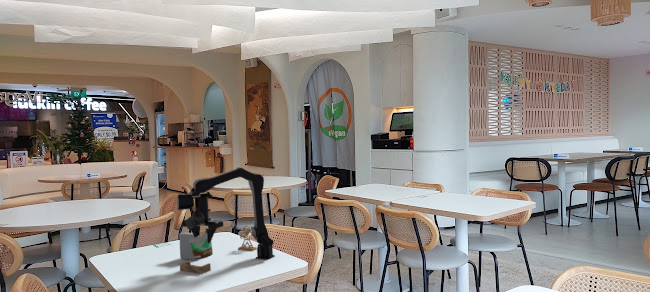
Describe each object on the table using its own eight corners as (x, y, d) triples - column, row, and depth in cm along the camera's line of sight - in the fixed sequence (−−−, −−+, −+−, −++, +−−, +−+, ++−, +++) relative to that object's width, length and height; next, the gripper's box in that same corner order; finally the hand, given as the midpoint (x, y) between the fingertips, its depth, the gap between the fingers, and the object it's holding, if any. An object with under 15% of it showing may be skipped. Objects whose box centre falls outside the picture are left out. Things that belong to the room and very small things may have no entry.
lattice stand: (238, 249, 232) (237, 226, 232) (242, 247, 236) (241, 224, 236) (252, 251, 229) (251, 227, 228) (257, 249, 232) (256, 225, 232)
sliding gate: (200, 259, 216) (199, 233, 216) (196, 260, 214) (195, 234, 214) (183, 257, 220) (182, 232, 220) (180, 258, 218) (179, 233, 218)
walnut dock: (210, 270, 198) (210, 263, 198) (202, 274, 193) (201, 267, 193) (188, 267, 203) (188, 261, 203) (180, 271, 198) (179, 264, 198)
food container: (203, 260, 197) (199, 237, 197) (192, 261, 200) (188, 238, 199) (221, 251, 208) (216, 229, 208) (210, 251, 211) (206, 230, 210)
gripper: (172, 210, 199) (174, 245, 200) (206, 211, 192) (208, 248, 192) (189, 205, 209) (191, 239, 210) (223, 207, 202) (224, 242, 202)
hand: (203, 242), depth 203 cm, fingers closed on food container, 6 cm apart
